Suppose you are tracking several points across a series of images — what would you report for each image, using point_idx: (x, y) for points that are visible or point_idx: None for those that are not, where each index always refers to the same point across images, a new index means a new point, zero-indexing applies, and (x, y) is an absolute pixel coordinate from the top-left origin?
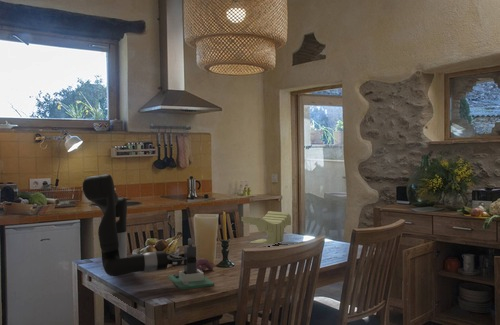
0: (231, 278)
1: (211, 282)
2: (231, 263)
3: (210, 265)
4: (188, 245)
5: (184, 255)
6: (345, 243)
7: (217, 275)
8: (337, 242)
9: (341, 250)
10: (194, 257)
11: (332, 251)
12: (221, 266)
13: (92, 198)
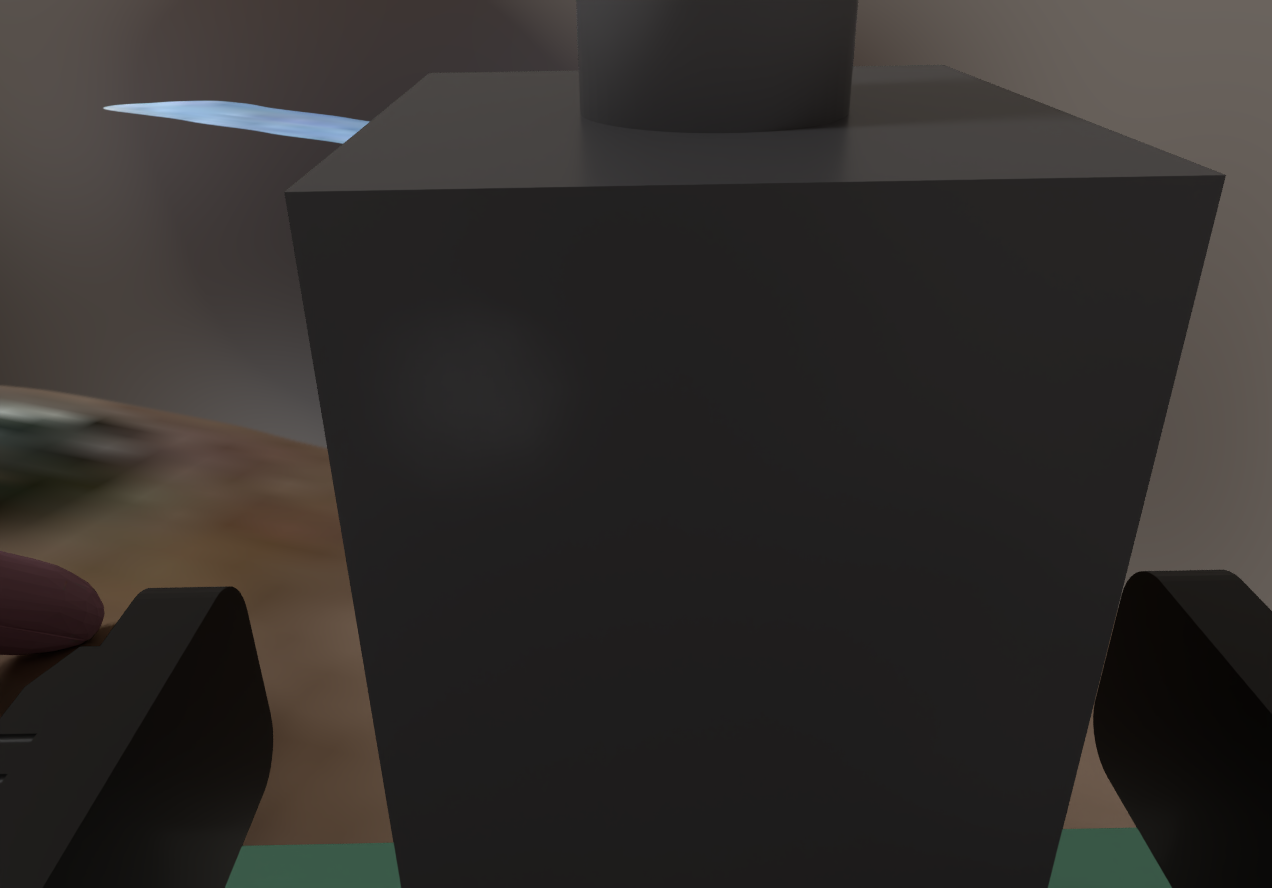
0: None
1: (1129, 853)
2: (2, 419)
3: (39, 577)
4: (760, 66)
5: (478, 872)
6: (219, 101)
7: None
8: (167, 105)
9: (336, 120)
10: (1247, 592)
11: (322, 131)
12: (10, 508)
13: None
